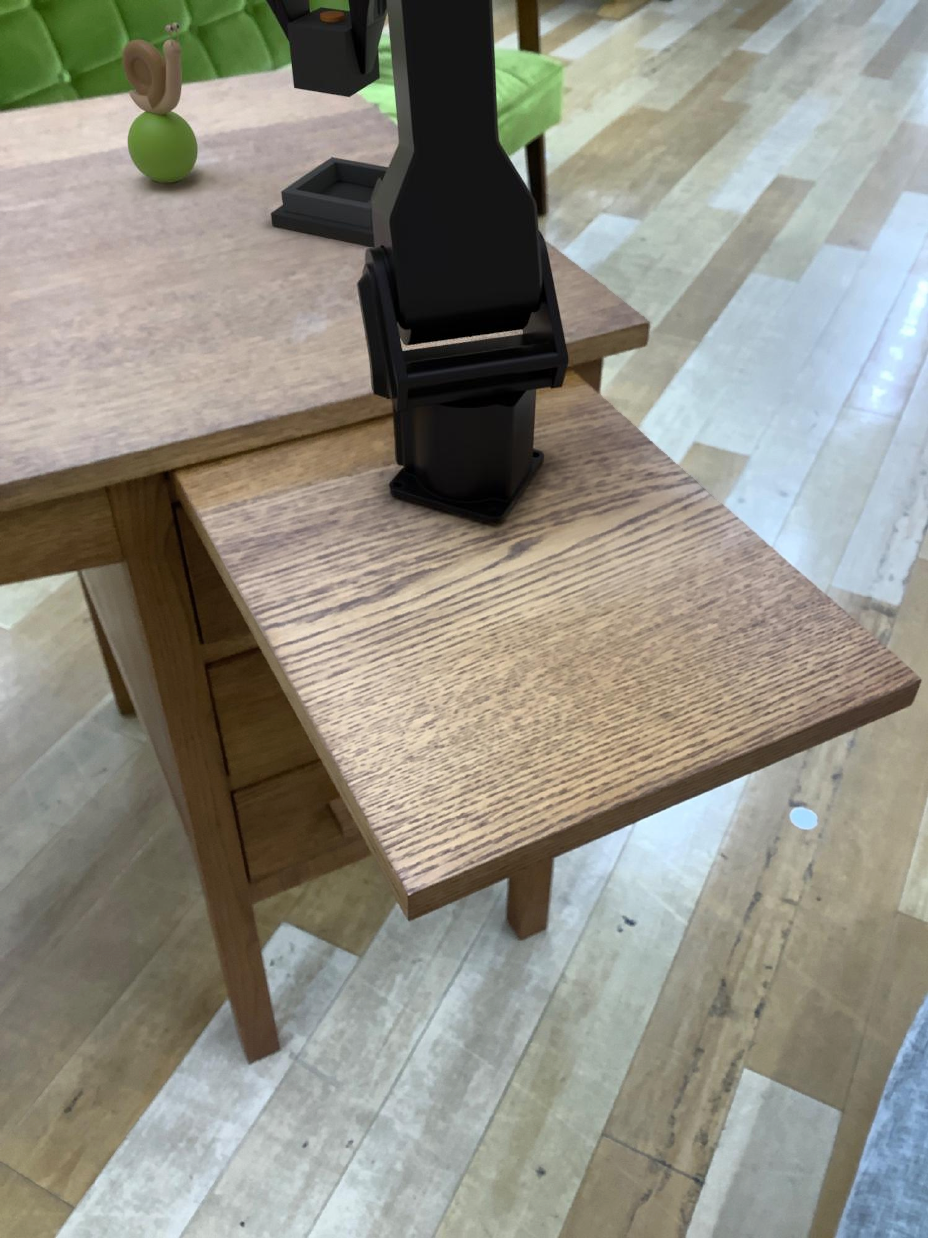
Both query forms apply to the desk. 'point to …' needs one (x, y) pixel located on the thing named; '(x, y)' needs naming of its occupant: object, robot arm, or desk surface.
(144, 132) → the snail figurine
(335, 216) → the base pad
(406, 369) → the robot arm
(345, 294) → the desk surface
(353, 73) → the pad block
